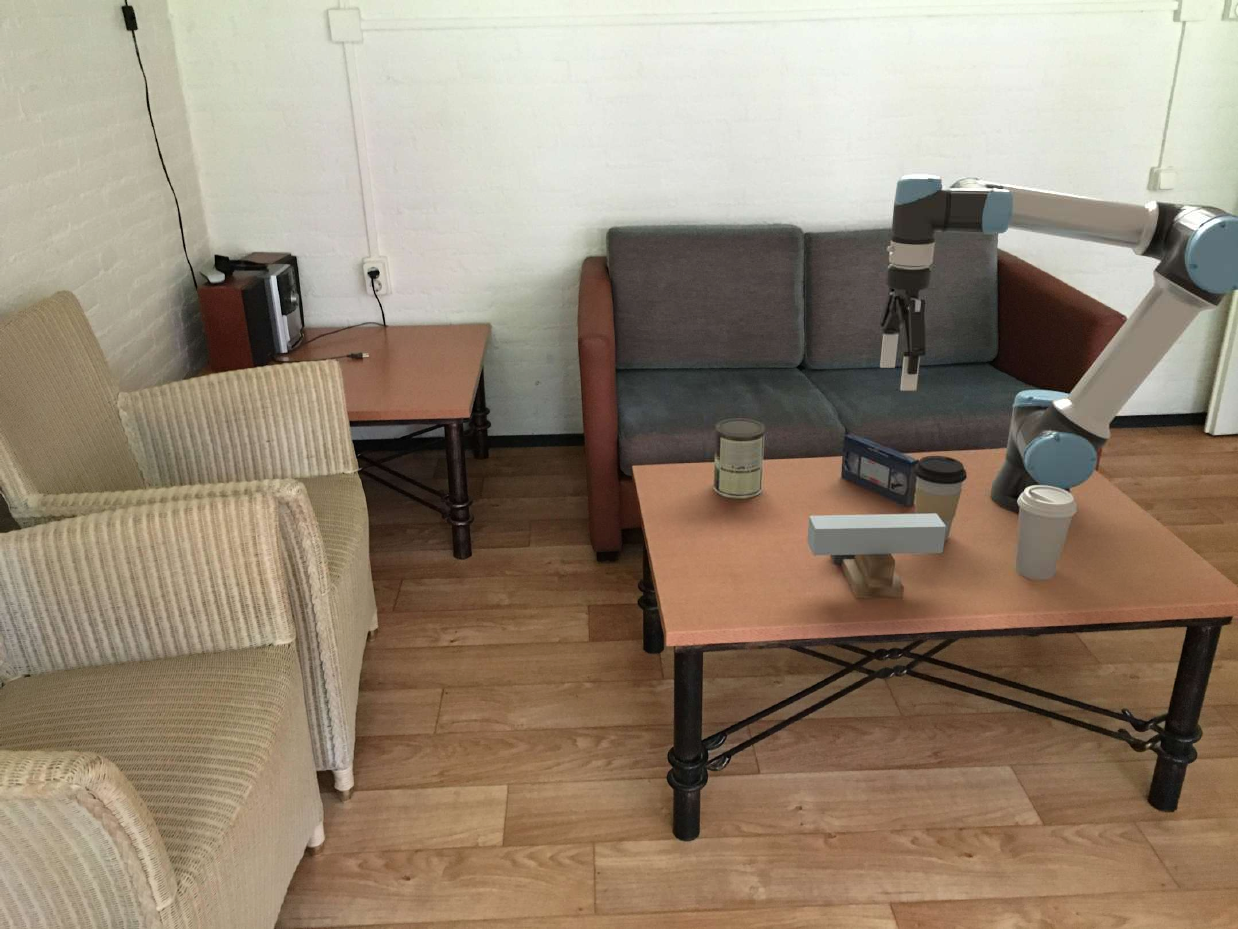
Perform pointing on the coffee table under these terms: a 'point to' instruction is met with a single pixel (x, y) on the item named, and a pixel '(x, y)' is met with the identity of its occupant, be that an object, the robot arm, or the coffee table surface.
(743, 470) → the coffee can
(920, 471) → the coffee cup
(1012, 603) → the coffee table surface
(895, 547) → the beam
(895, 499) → the vhs cassette tape
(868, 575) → the fulcrum
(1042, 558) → the coffee cup
